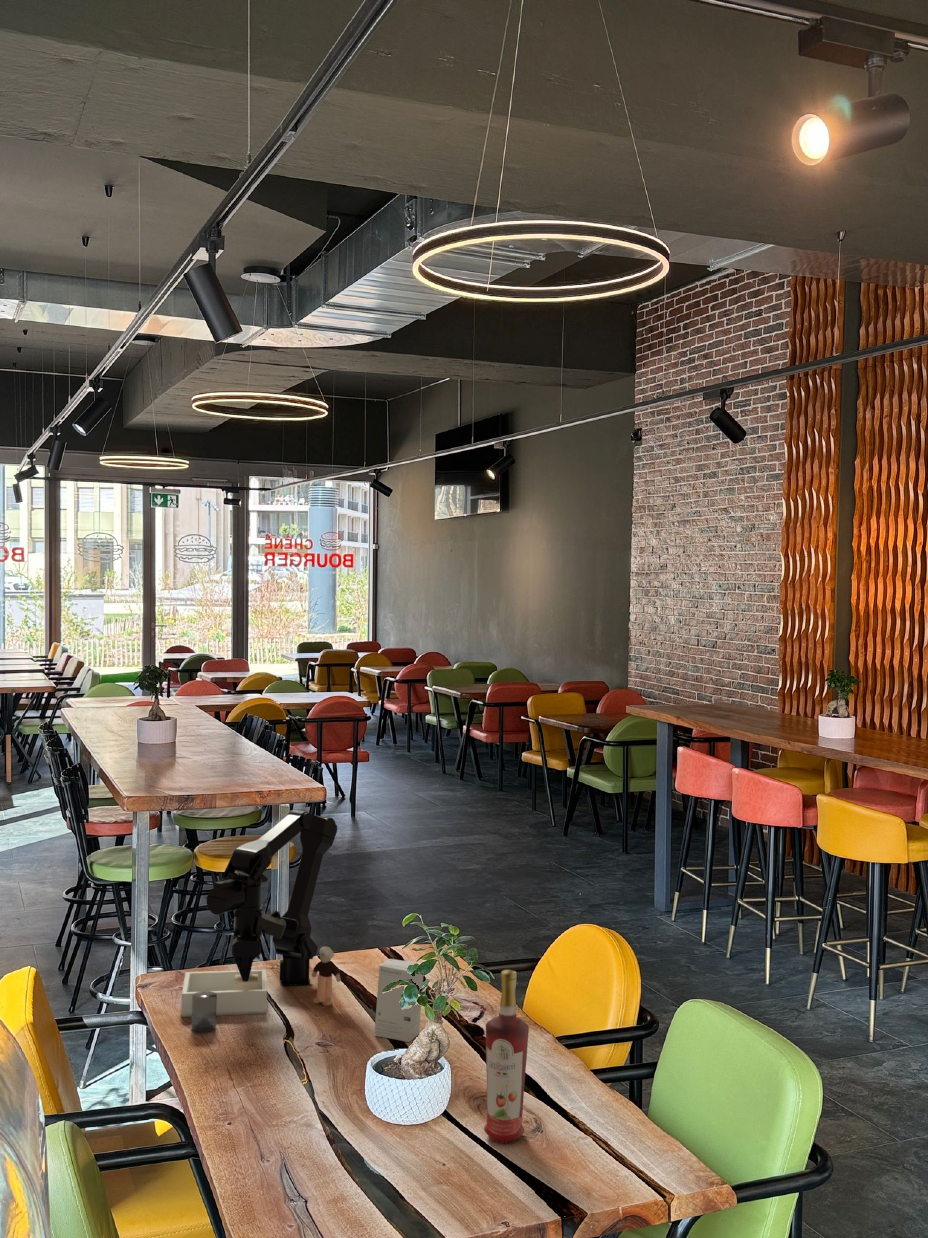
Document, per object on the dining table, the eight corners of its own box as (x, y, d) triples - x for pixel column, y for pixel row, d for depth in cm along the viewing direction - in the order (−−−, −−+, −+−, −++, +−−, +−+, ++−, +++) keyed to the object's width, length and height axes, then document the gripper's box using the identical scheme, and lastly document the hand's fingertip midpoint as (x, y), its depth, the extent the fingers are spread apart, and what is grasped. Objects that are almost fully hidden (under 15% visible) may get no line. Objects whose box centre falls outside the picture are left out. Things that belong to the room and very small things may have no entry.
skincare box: (374, 1037, 226) (376, 965, 226) (385, 1026, 232) (387, 957, 232) (411, 1043, 223) (413, 971, 223) (422, 1033, 229) (424, 962, 229)
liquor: (529, 1131, 187) (534, 968, 187) (519, 1151, 180) (524, 982, 180) (488, 1124, 189) (493, 963, 189) (477, 1143, 182) (482, 976, 182)
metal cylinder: (216, 1023, 231) (217, 991, 231) (215, 1033, 226) (216, 999, 226) (191, 1024, 230) (192, 991, 230) (190, 1034, 225) (191, 1000, 225)
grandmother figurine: (305, 1003, 244) (307, 947, 244) (312, 998, 248) (314, 942, 247) (337, 1008, 242) (338, 951, 242) (344, 1002, 245) (345, 946, 245)
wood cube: (234, 997, 245) (235, 975, 245) (256, 996, 246) (257, 974, 246) (233, 1005, 240) (234, 982, 240) (257, 1004, 241) (257, 981, 241)
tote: (265, 991, 251) (266, 969, 251) (266, 1013, 237) (266, 990, 237) (185, 994, 248) (185, 972, 248) (181, 1017, 234) (181, 994, 234)
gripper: (285, 915, 235) (283, 987, 235) (283, 893, 254) (281, 960, 254) (232, 916, 233) (230, 989, 233) (234, 894, 252) (232, 961, 252)
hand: (245, 974), depth 243 cm, fingers open, 9 cm apart
